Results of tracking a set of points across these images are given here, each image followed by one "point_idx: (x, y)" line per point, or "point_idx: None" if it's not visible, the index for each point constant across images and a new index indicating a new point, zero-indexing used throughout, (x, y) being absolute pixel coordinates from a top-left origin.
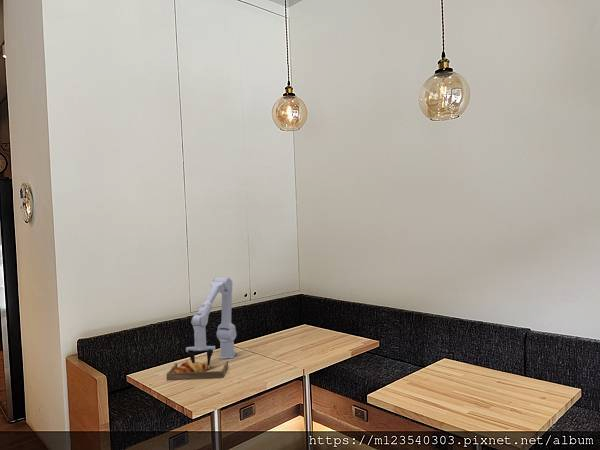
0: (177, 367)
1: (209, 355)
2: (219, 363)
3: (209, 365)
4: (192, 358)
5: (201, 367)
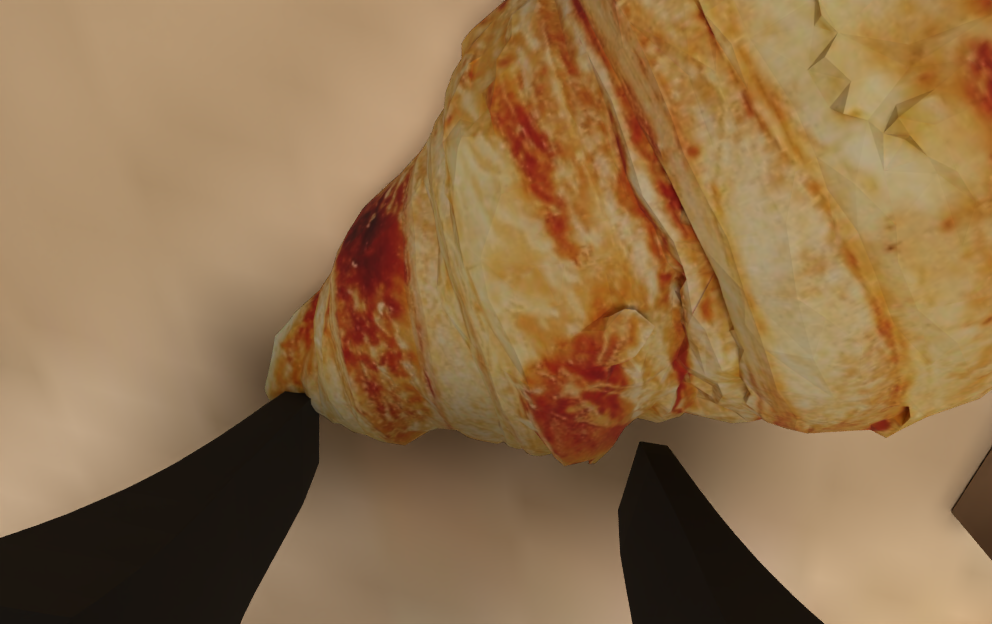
0: (976, 537)
1: (68, 538)
2: None
3: (270, 369)
4: (719, 581)
5: (424, 182)
